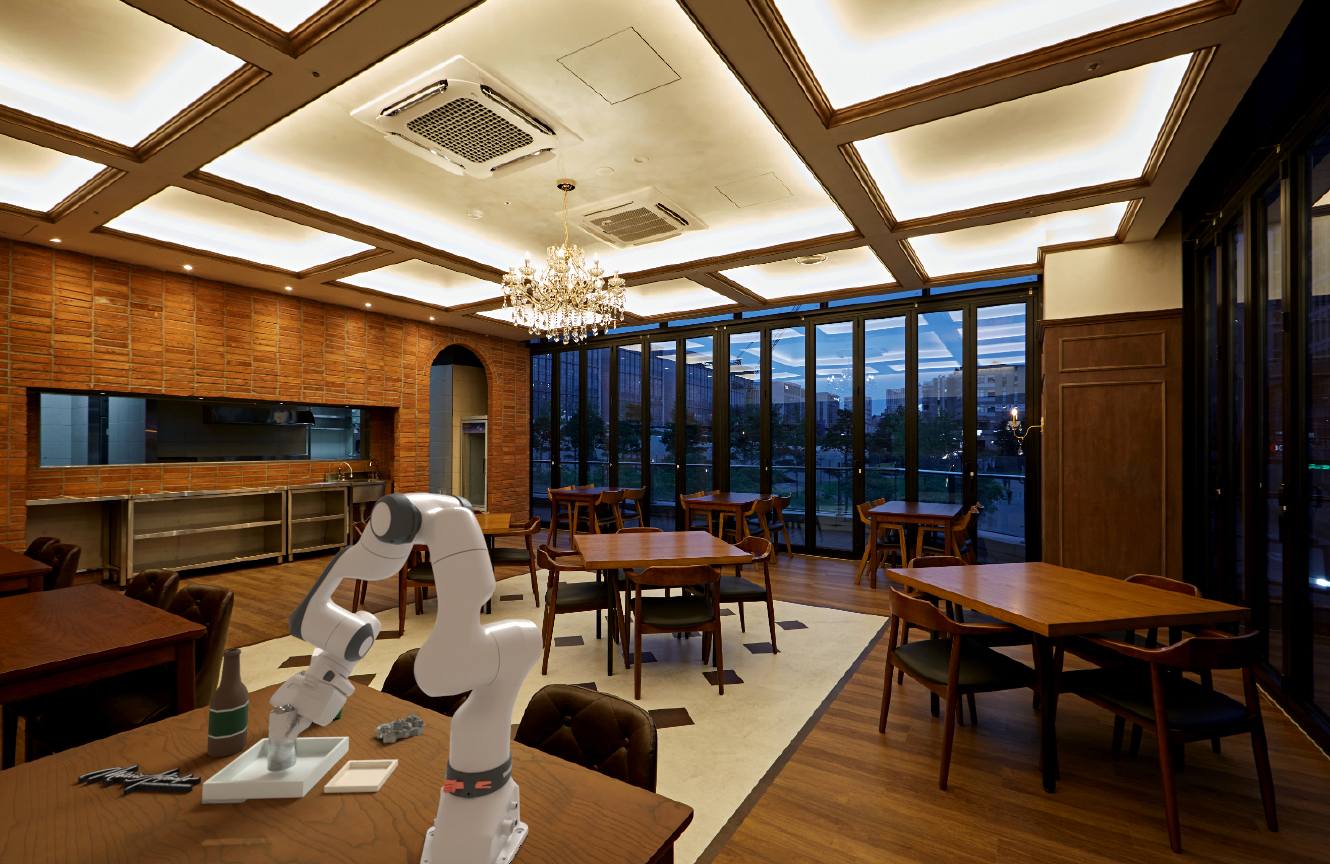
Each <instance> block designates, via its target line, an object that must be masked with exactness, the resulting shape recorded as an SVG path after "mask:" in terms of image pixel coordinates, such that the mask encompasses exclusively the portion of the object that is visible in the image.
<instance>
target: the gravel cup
mask: <svg viewBox="0 0 1330 864" xmlns="http://www.w3.org/2000/svg"><path fill="white" fill-rule="evenodd" d="M297 711H298V709H297V708H294V707H293V706H292V705H291V704H285V705H284V706H278V707H274V708H273V709H272V710H270V711H269V714H268V716H269V717H268V718H269V719H268V727H269V730H268V737H267V738H268V758H267V770H268V771H273V772H275V771H282V770H286V769H288V768H290V767H292V766H294V765H295V764H296V757H297V738H298V736H297V737H296V738H295V740H290V739H288V738H286V737H285V734H286V733H287V732H288V730H289V729H290V728H291V729H293V728H294V727H295V726H296V725H297V724H298V723H299V717H298V714H297Z"/></svg>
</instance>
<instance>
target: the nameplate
mask: <svg viewBox="0 0 1330 864" xmlns="http://www.w3.org/2000/svg"><path fill="white" fill-rule="evenodd" d="M139 771H140V764H132V765H129V766H125V767H123V766H116V767H110V768H105V769H99V770H96V771H93V772H92V771H91V772H88V773H85V774H81V775H79V776H78V778H77V784H85V783H86V786H90V785H93V784H96V783H100V782H102V783H103V784H104V787H112V786H113V784H122V787H123V788H124V789H123V793H122V795H123V797H127V796H128V795H130V794H132V793H134V792H137V791H139V792H141V791H142V792H143V791H144V792H158V793H162V792H163V793H176V794H177V793H180V794H188V793H189V794H190V793H192V792H193V789H194V787H193V786H196V785H200V784H202V776H194V775H195V774H194V773H191V774H187V775H185V776H180V774H181V767H175V768H173V769H169V770H166V771H162V772H159V773H155V774H145V773H144V772H140V773H137V772H139Z"/></svg>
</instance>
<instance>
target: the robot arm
mask: <svg viewBox="0 0 1330 864" xmlns="http://www.w3.org/2000/svg"><path fill="white" fill-rule="evenodd" d="M414 545H422V546H423V545H424V546H425V545H426V546H427V547H428V552H429V556H430V564H431V567H432V572H433V577H434V583H435V589H436V596H437V597H436V598H437V614H436V619H435V623H434V626H433V629H432V631H431V632H430V635H429V636H428V638H427V639H426V641H425V642H424V643H423V644H422V645H421V646H420V648H419V650H418V652H417V654H416V656H415V660H414V665H413V666H414V667H413V673H414V674H413V675H414V678H415V681H416V683H417V686H418V687H419V688H420V690H421V691H422V692H423V693H425V694H426V695H427V696H429V697H432V698H433V697H443V696H444V697H446V696H455V695H459V694H462V693H463V694H464V693H465V692H469V691H471V690H472V691H471V693H470V694H469V696H468V698H467V699H466V700H465V701H464V702H463V703H462V704H461V705H460V706H459V708H457V710H456V711H455V712H454V714H453V716H452V719H451V721H450V725H449V729H450V730H449V758H448V760H447V763H446V768H445V773H444V778H445V779H444V783H443V786H442V787H440V798H439V803H438V808H437V813H436V817H435V818H433V820H432V826H431V827H430V828H428V829H427V831H426V835H425V840H424V844H423V850H422V853H421V858H420V862H419V864H509V863H510V862H511V861H512V862H513V860H514V858H515V856H516V855H515V854H517V852H519V849H520V848H521V846H522V844H523V843H524V841H525V839H526V837H527V835H528V834H529V826H528V824H527V823H525V822H523V821H521V819H520V817H521V815H520V813H521V811H520V809H521V808H520V804H521V803H520V786H519V785H518V784H517V783H516V782H515V781H514V779H513V778H512V773H513V771H512V770H513V769H512V768H513V757H512V756H513V754H512V752H511V751H510V750H511V749H510V748H511V731H512V730H511V729H512V728H511V727H512V717H513V712H514V708H515V705H516V704H515V703H516V700H517V698H518V696H519V692H520V690H521V688H522V686H523V684H524V682H525V680H526V678H527V676H528V674H529V673H530V672H531V670H533V668H534V667H535V666H536V664H537V663H538V662H539V660H540V659H541V657H542V653H543V647H544V642H543V636H542V634H541V631H540V629H539V627H538V626H537V624H535V622H533V621H532V620H530V619H526V618H525V619H524V618H507V619H506V618H505V619H502V620H498V621H497V620H496V621H493V622H489V623H485V624H481V617H480V616H481V609H482V606H484V605H485V604H486V603H487V602H488V601H489V600H490V599H491V598H492V596H493V595H494V593H495V590H496V587H497V583H496V582H497V581H496V578H495V575H494V571H493V566H492V562H491V557H490V555H489V550H488V547H487V543H486V539H485V536H484V533H483V530H482V528H481V526H480V523H479V521H478V519H477V517H476V515H475V511H474V507H473V506H472V504H471V502H470V501H469V500H468V499H467V498H464V497H462V496H459V495H454V494H439V493H429V492H409V493H402V492H398V493H397V492H396V493H395V492H394V493H391V494H385V495H384V496H381V497H380V498H378V499H377V500H376V502H375V503H374V505H373V506H372V509H371V512H370V517H369V520H368V522H367V524H366V525H365V528H364V530H363V532H362V534H361V536H360V538H359V540H358V541H357V543H356V544H353V545H346V546H345V547H343V548H342V549H340V550H339V551H338V552H337V553H336V554H335V555H334V556H333V558H332V559H331V560H330V561H329V563H328V564H327V565H326V566H325V568H324V569H323V570H322V572H321V574H320V575H319V576H318V578H317V579H316V581H315V583H314V584H313V585H312V586H311V588H310V589H309V591H308V592H307V594H306V595H305V597H303V599H302V600H301V602H300V603H299V604H298V605H297V606H296V607H295V609H294V610H293V612H291V614H290V616H289V618H288V629H289V633H290V635H291V636H292V637H293V638H296V639H298V640H301V641H303V642H306V643H309V644H311V645H312V646H314V647H315V648H320V649H322V650H324V651H323V652H321V653H320V654H319V655H318V656H317V658H316V659H315V660H314V661H313V663H312V664H311V665H310V664H309V666H308V668H307V669H306V670H304V669H303V670H301V671H299V672H296V673H294V675H291V676H290V677H289V678H287V680H285V681H284V683H282V685H280V686H279V688H278V689H277V690H276V691H275V692H274V693H273V694H272V696H271V697H270V700H269V704H270V705H272V706H273V707H274V708H276V707H278V706H284V705H285V704H291V705H292V706H293V707H294V708H297V709H298V711H297V714H298V718H299V719H298V724H297V725H296V726H295V727H294V728H293V729H291V728H290V729H289V730H288V732H287V733H286V734H285V737H286V738H288V739H290V740H295V738H296V737H297V738H298V736H299V734H301V733H302V732H303V731H304V732H305V730H306V729H308V728H309V727H310V726H311V725H312V722H313V724H316V725H319V726H320V727H326V726H327V725H329V724H330V723H332V722H333V719H334V718H335V717H336V715H337V714H338V713H339V711H340V710H341V708H342V707H344V705H345V704H346V702H347V699H348V697H351V696H352V695H353V694H354V692H355V690H356V688H355V687H354V685H353V683H351V681H350V680H349V679H348V678H349V677H350V675H351V674H352V673H353V670H354V668H355V666H356V665H357V664H358V662H360V661H361V660H362V659H363V658H364V657H365V656H366V655H367V653H368V652H369V651H370V649H371V648H372V647H373V645H374V643H375V641H376V639H377V637H378V635H379V634H380V631H381V629H382V623H381V621H380V620H379V619H378V617H377V616H376V615H374V614H372V613H370V612H369V611H365V610H359V611H357V612H355V613H354V612H353V613H352V612H351V611H349V610H347V609H345V608H343V607H342V606H340V605H338V604H336V602H334V601H333V599H332V598H331V596H332V595H333V593H334V592H335V591H336V589H337V588H338V587H339V585H340V583H341V582H342V580H343V579H347V578H348V579H357V580H358V579H359V580H362V581H369V582H370V581H371V582H372V581H382V580H386V579H388V578H391V577H393V576H395V575H396V574H397V573H399V572H400V570H402V568H403V567H404V565H405V564H406V562H407V560H408V558H409V556H410V553H411V551H412V549H413V548H414V547H413V546H414ZM342 709H343V708H342ZM334 720H335V719H334ZM267 730H268V731H269V726H268V727H267ZM520 845H521V846H520ZM519 847H520V848H519ZM512 862H511V863H512ZM511 863H510V864H511Z"/></svg>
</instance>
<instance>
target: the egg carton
mask: <svg viewBox="0 0 1330 864" xmlns="http://www.w3.org/2000/svg"><path fill="white" fill-rule="evenodd" d="M426 725H427V723H426V722H425V723H424V720H423V719H421V718H420V717H419V716H417V715H416V714H415V713H412V714H410V715H408V716H407V717H403V718H401V719H400V718H398V719H397V720H394V721H391V722H388V723H381V724H379V725H378V726H377V727H376V728H375V730H374V731H375V732H377V733H376V738H377V739H378V740H379V739H382V741H383V743H384V744H386V743H396V742H397V740H398V739H403V738H404V739H407V738H409V737H420V735H421V736H422V734H423V733H424V726H426ZM413 727H414V728H413ZM422 732H423V733H422ZM421 733H422V734H421Z"/></svg>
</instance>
